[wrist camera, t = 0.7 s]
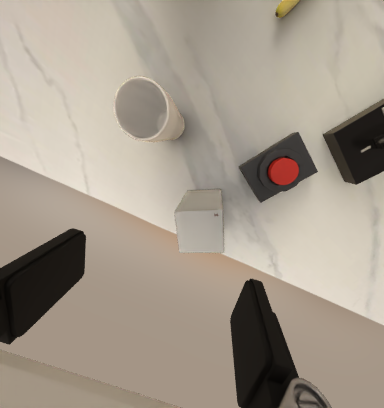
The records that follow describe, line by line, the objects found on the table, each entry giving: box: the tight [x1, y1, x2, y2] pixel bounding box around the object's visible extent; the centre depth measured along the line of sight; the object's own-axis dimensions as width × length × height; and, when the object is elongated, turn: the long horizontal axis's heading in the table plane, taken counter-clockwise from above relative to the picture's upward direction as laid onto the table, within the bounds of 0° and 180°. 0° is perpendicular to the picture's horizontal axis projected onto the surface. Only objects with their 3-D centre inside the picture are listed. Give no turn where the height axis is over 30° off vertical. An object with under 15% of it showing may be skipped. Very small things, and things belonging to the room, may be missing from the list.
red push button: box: [268, 158, 299, 185], centre depth 30 cm, size 4×4×2 cm
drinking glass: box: [114, 76, 185, 142], centre depth 27 cm, size 7×7×15 cm
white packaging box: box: [175, 189, 224, 253], centre depth 32 cm, size 7×7×13 cm
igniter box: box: [239, 132, 318, 202], centre depth 32 cm, size 11×8×4 cm
